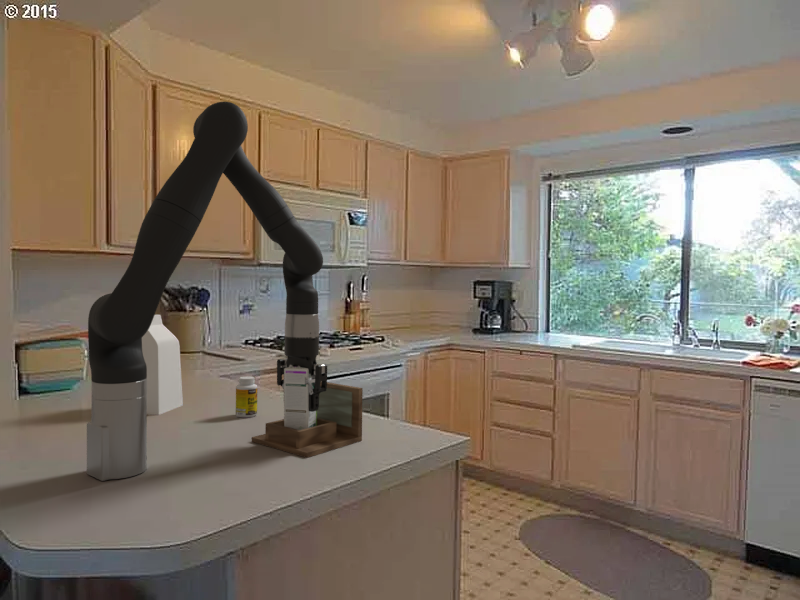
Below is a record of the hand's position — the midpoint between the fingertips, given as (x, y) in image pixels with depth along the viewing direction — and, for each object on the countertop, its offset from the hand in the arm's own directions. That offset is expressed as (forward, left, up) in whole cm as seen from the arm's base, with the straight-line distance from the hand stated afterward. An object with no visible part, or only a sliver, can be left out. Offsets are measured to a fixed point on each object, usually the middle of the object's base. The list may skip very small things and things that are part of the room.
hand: (300, 408), depth 127 cm
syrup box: (0, 0, -5) cm, 5 cm away
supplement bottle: (+8, +30, -8) cm, 32 cm away
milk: (-4, +56, -8) cm, 57 cm away
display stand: (+2, 0, -8) cm, 8 cm away
